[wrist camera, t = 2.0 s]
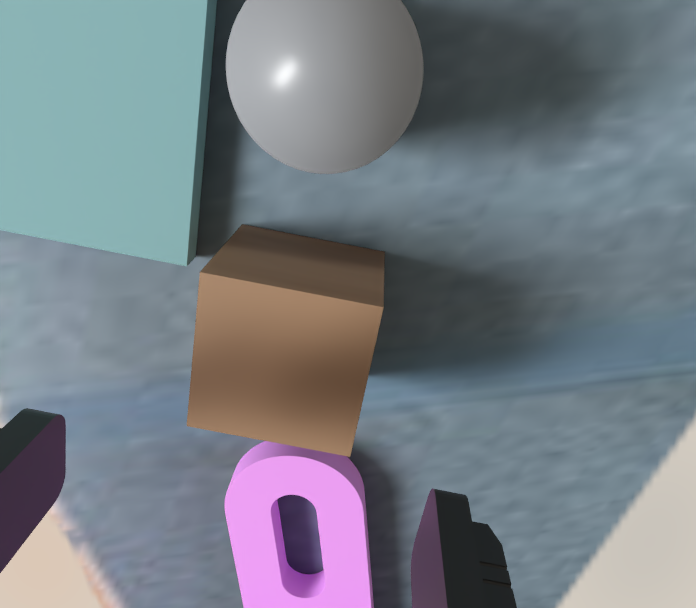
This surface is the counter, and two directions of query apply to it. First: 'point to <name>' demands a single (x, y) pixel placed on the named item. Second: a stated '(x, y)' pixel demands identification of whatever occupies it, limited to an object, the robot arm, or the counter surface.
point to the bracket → (267, 538)
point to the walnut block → (285, 339)
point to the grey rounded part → (324, 79)
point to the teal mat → (105, 122)
